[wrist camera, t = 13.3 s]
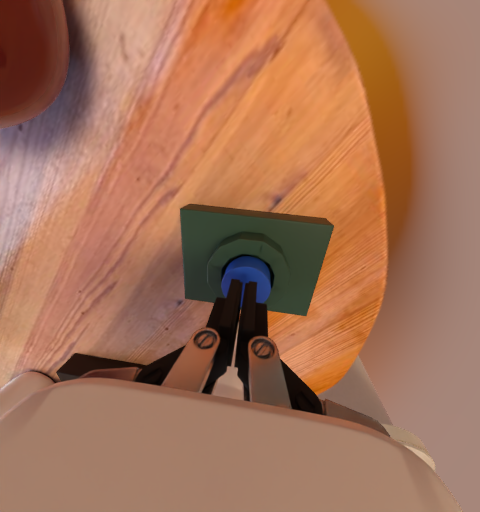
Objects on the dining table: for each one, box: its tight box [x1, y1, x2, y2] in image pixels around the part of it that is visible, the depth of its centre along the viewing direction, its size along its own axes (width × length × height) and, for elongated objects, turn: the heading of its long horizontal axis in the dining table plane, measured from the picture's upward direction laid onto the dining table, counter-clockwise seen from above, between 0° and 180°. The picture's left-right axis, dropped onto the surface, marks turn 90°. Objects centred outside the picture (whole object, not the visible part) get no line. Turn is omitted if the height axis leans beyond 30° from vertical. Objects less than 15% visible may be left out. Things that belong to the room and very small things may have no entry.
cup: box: [0, 372, 55, 417], centre depth 30 cm, size 11×8×8 cm
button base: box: [180, 204, 334, 316], centre depth 17 cm, size 12×9×4 cm
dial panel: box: [56, 353, 146, 382], centre depth 29 cm, size 12×10×3 cm
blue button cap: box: [221, 256, 271, 307], centre depth 14 cm, size 4×4×2 cm
